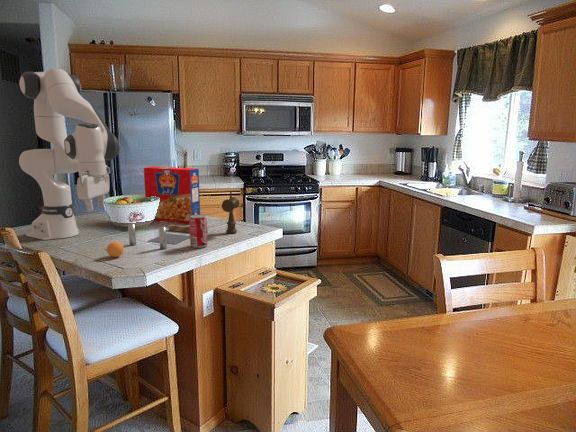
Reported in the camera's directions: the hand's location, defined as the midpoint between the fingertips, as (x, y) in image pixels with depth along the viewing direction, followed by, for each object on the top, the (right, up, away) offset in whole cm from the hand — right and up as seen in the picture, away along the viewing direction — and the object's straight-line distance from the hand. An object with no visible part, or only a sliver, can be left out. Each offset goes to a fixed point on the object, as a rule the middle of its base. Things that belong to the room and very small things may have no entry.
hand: (95, 208), depth 152 cm
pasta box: (+8, -5, +73) cm, 74 cm away
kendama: (+42, -11, +49) cm, 65 cm away
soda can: (+32, -15, +25) cm, 43 cm away
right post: (+18, -16, +22) cm, 32 cm away
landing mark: (+17, -13, +37) cm, 42 cm away
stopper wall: (+21, -10, +50) cm, 55 cm away
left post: (+4, -15, +27) cm, 31 cm away
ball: (+3, -15, +10) cm, 18 cm away
